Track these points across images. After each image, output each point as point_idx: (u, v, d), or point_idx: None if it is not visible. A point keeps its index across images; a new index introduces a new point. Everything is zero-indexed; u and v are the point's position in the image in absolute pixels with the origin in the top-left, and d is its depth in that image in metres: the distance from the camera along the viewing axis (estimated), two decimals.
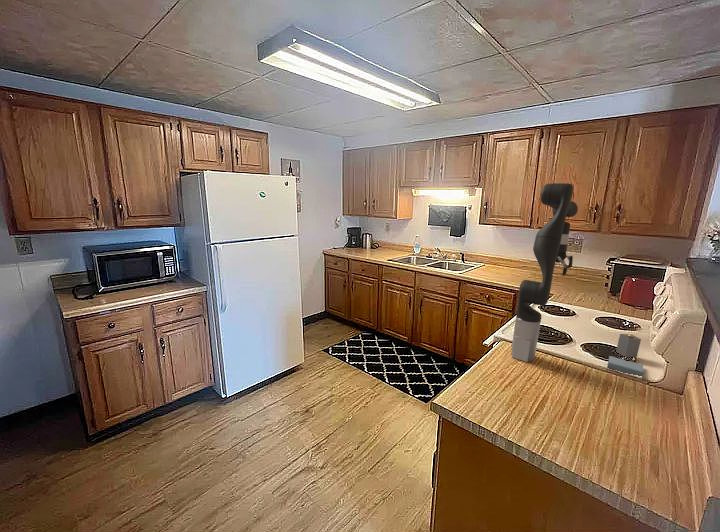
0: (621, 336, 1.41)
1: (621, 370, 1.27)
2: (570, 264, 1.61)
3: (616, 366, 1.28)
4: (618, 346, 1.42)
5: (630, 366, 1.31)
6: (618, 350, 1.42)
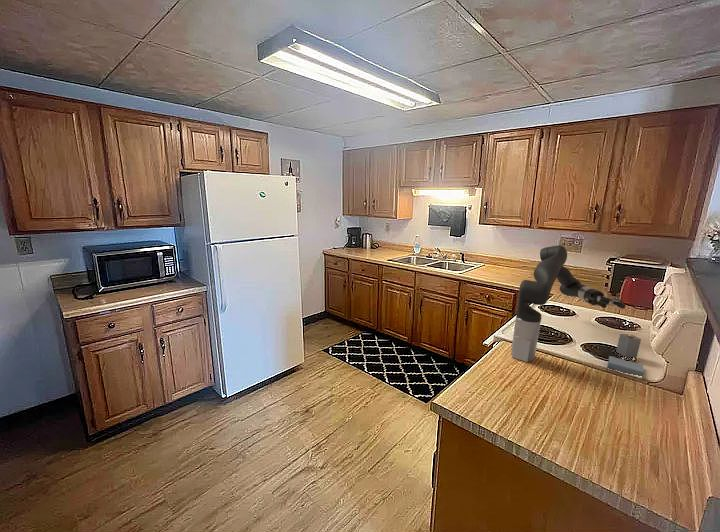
0: (621, 336, 1.41)
1: (621, 370, 1.27)
2: (619, 300, 1.54)
3: (616, 366, 1.28)
4: (618, 346, 1.42)
5: (630, 366, 1.31)
6: (618, 350, 1.42)
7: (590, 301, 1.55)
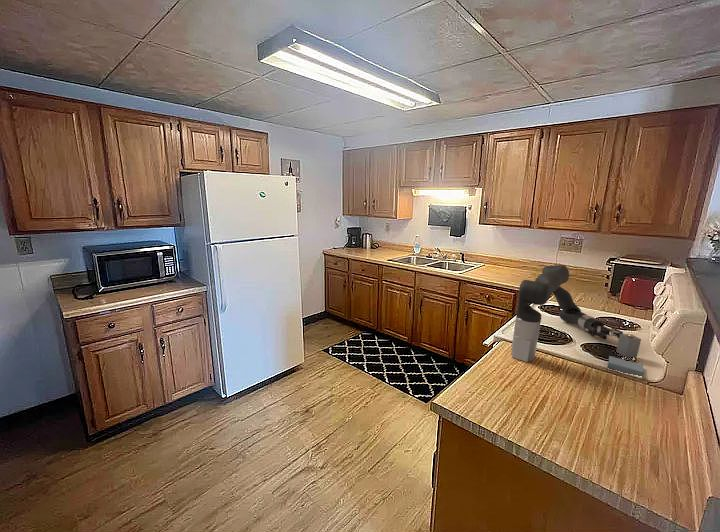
0: (621, 336, 1.41)
1: (621, 370, 1.27)
2: (619, 330, 1.53)
3: (616, 366, 1.28)
4: (618, 346, 1.42)
5: (630, 366, 1.31)
6: (618, 350, 1.42)
7: (590, 332, 1.54)
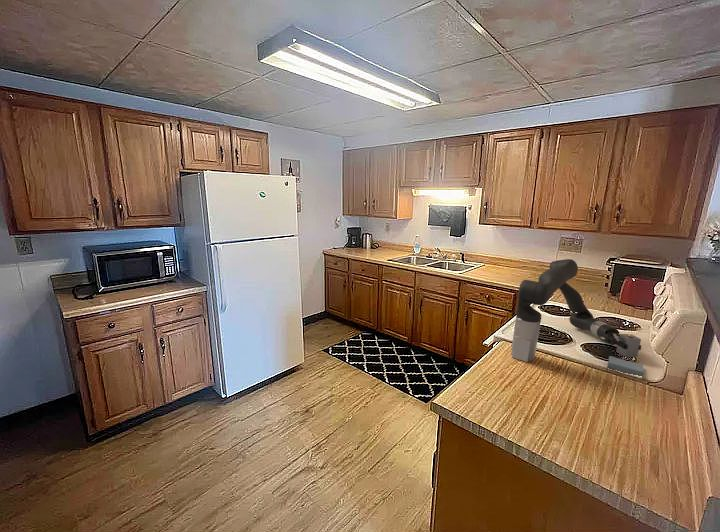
0: (621, 336, 1.41)
1: (621, 370, 1.27)
2: None
3: (616, 366, 1.28)
4: (618, 346, 1.42)
5: (630, 366, 1.31)
6: (618, 350, 1.42)
7: (608, 340, 1.44)
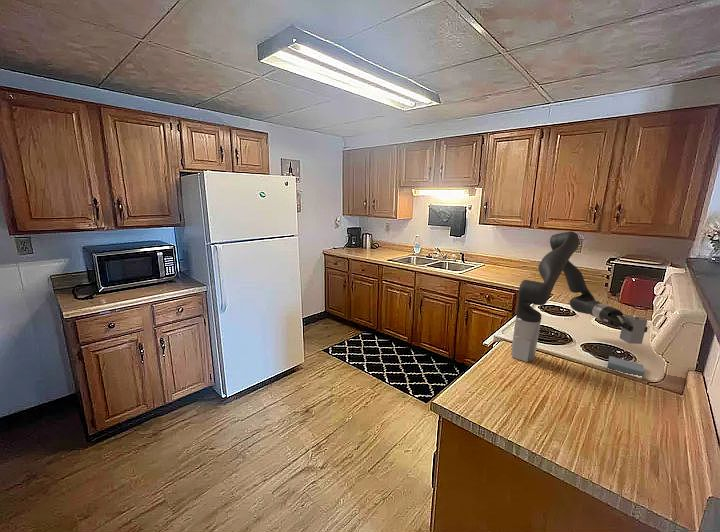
0: (626, 317, 1.30)
1: (621, 370, 1.27)
2: None
3: (616, 366, 1.28)
4: (622, 328, 1.32)
5: (630, 366, 1.31)
6: (622, 333, 1.32)
7: (612, 322, 1.33)
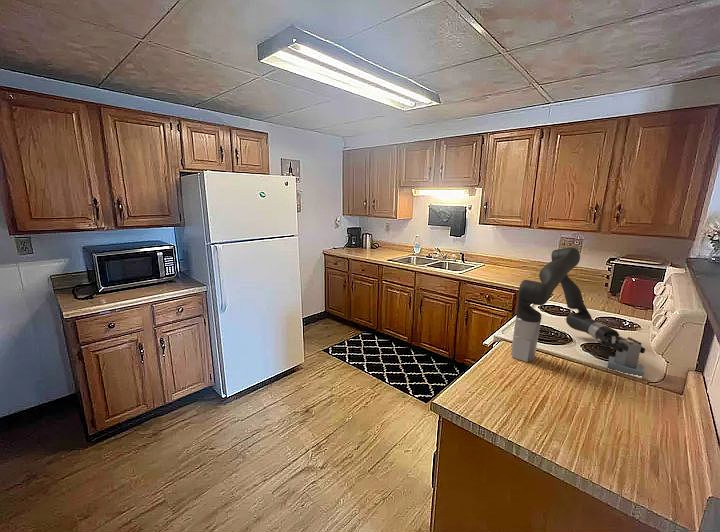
0: (620, 342, 1.31)
1: (621, 370, 1.27)
2: (637, 341, 1.34)
3: (616, 366, 1.28)
4: (617, 353, 1.32)
5: None
6: (617, 357, 1.32)
7: (603, 342, 1.35)
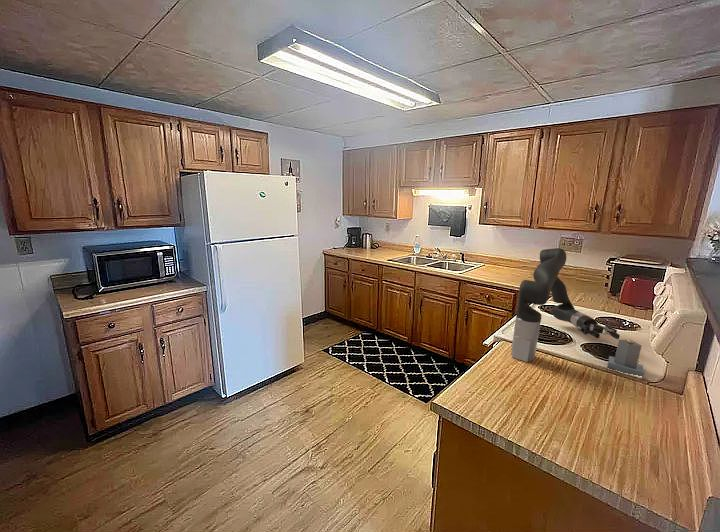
0: (620, 342, 1.31)
1: (621, 370, 1.27)
2: (613, 329, 1.46)
3: (616, 366, 1.28)
4: (617, 353, 1.32)
5: None
6: (617, 357, 1.32)
7: (583, 330, 1.47)
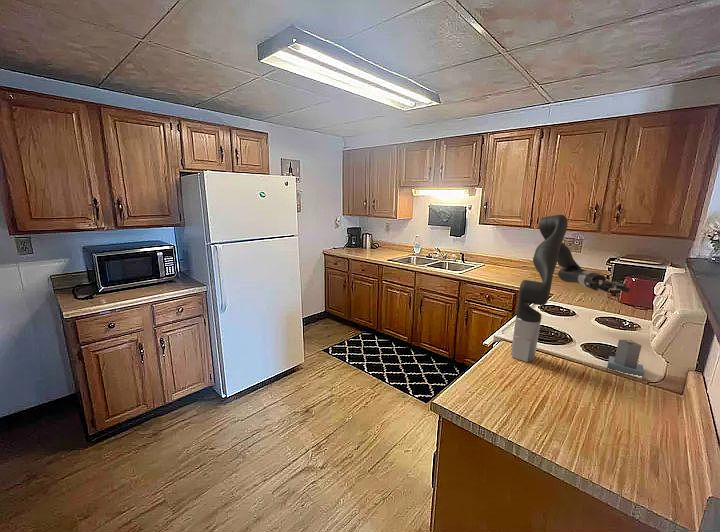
0: (620, 342, 1.31)
1: (621, 370, 1.27)
2: (623, 284, 1.42)
3: (616, 366, 1.28)
4: (617, 353, 1.32)
5: None
6: (617, 357, 1.32)
7: (591, 285, 1.43)
